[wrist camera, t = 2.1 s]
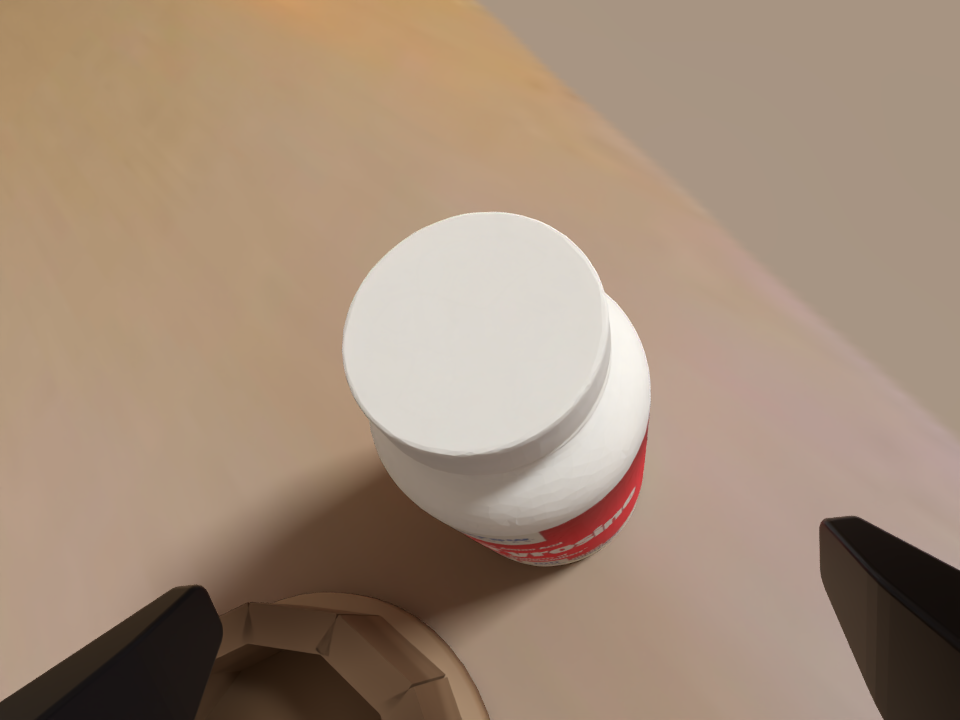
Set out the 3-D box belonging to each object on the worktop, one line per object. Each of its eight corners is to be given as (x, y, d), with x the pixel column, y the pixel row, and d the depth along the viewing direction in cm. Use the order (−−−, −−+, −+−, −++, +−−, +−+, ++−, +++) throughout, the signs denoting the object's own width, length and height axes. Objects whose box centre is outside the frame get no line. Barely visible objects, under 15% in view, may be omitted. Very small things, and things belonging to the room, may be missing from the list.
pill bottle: (471, 584, 19) (302, 541, 9) (446, 407, 22) (294, 226, 12) (667, 548, 18) (712, 456, 8) (616, 367, 21) (605, 137, 11)
